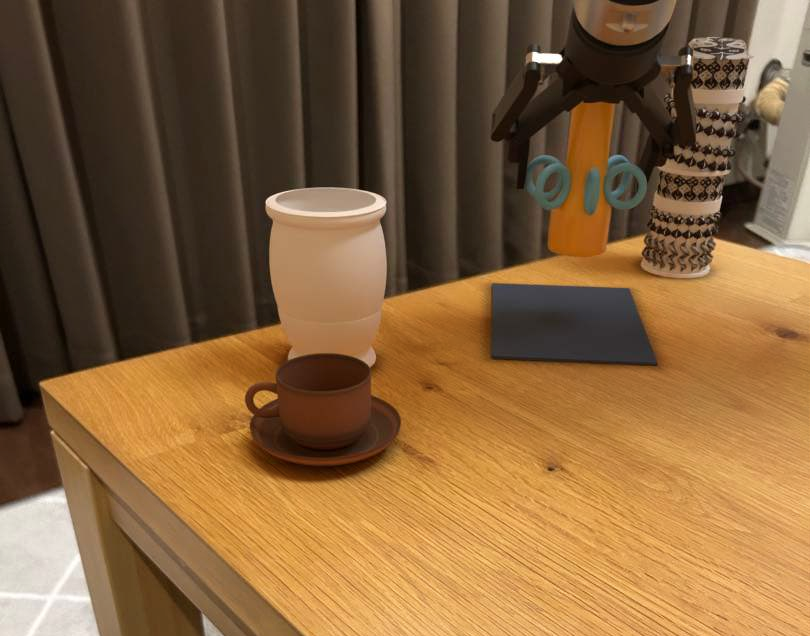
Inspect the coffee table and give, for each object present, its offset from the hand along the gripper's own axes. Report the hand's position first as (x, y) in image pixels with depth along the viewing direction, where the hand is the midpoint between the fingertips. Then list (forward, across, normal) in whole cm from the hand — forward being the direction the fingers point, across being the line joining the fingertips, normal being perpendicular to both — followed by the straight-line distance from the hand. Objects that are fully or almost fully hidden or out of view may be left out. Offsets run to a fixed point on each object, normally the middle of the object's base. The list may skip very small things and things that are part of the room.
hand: (580, 178), depth 87 cm
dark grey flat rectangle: (+8, 0, -12) cm, 14 cm away
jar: (-1, -23, -21) cm, 32 cm away
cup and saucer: (-13, -21, -33) cm, 41 cm away
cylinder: (+3, 0, -6) cm, 7 cm away
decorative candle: (+23, +15, +3) cm, 27 cm away
